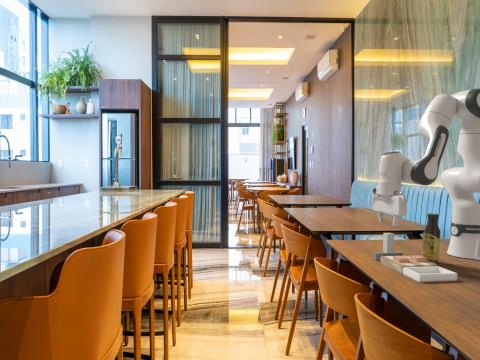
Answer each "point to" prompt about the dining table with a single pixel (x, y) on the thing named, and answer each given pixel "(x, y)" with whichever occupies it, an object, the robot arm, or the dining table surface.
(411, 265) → the birch board
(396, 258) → the tile
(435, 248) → the sauce bottle
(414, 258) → the tile
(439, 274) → the tray
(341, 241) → the dining table surface
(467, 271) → the dining table surface
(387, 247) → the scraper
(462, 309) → the dining table surface
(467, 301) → the dining table surface
